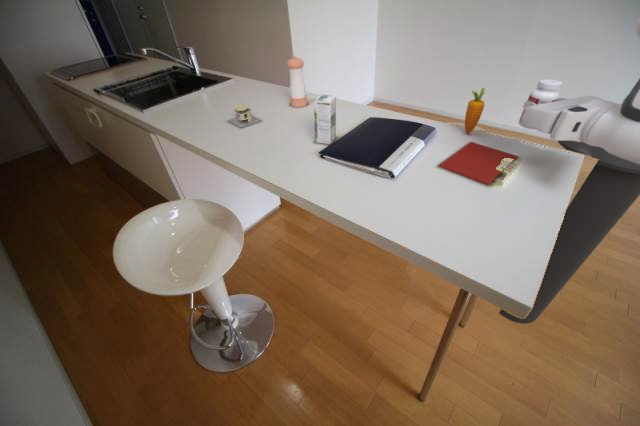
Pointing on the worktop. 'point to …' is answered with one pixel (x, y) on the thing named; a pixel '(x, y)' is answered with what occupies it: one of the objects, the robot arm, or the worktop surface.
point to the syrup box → (325, 118)
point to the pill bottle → (543, 94)
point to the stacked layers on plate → (243, 116)
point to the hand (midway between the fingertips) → (537, 101)
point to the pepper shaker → (297, 82)
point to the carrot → (474, 111)
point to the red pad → (476, 162)
